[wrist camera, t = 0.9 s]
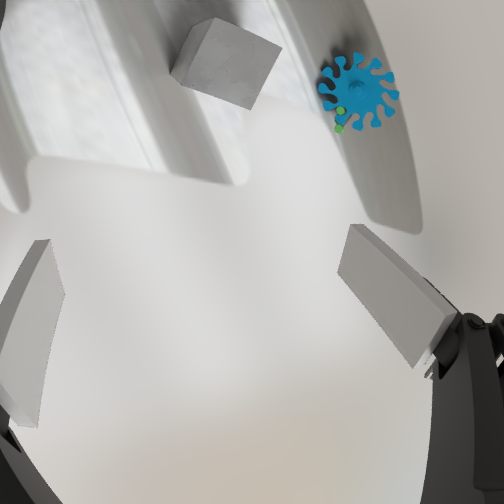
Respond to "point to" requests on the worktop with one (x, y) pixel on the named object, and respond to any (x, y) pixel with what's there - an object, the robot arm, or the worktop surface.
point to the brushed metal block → (225, 62)
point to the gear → (357, 92)
